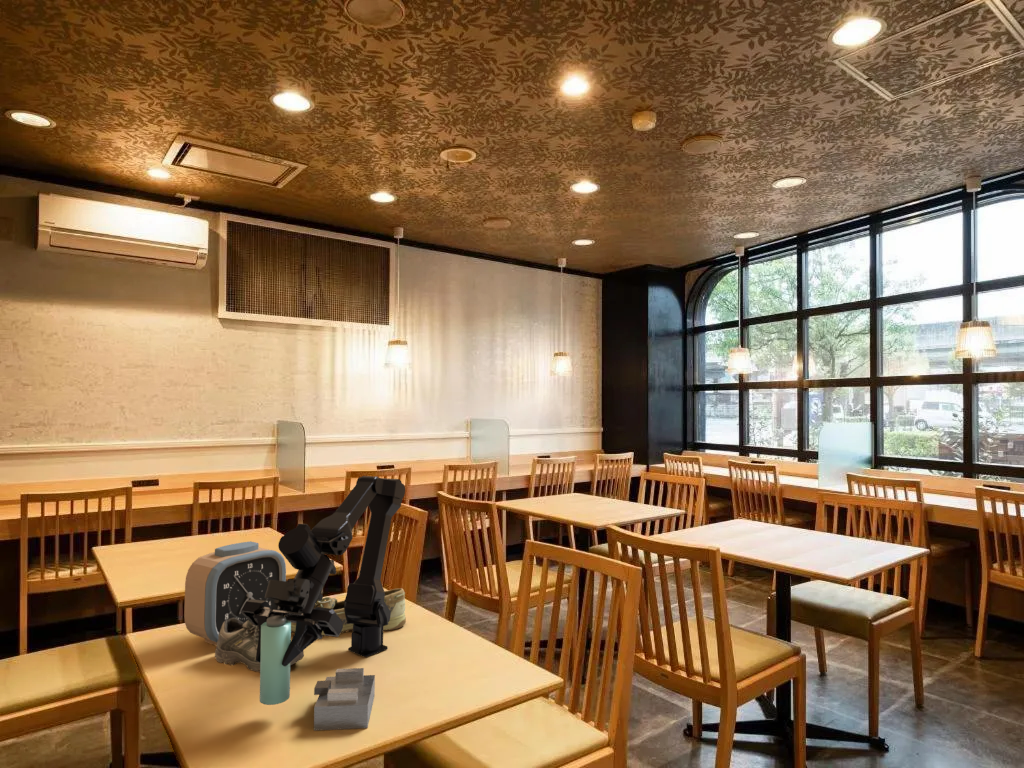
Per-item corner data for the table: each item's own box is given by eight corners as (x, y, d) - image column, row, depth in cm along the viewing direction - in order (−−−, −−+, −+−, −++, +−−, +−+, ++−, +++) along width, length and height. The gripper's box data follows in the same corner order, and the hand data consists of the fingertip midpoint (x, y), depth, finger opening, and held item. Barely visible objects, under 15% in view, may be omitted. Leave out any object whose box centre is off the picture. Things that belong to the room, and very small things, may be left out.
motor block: (321, 698, 121) (322, 667, 121) (374, 696, 122) (375, 665, 122) (308, 730, 109) (309, 696, 109) (367, 728, 110) (368, 694, 110)
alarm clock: (208, 656, 140) (210, 557, 140) (183, 646, 145) (186, 551, 145) (285, 628, 157) (287, 540, 158) (261, 621, 162) (263, 536, 163)
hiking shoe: (282, 670, 128) (296, 608, 134) (197, 668, 134) (214, 609, 140) (307, 677, 135) (319, 618, 142) (225, 675, 141) (240, 619, 147)
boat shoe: (284, 625, 160) (285, 588, 160) (403, 616, 168) (403, 581, 168) (279, 641, 149) (280, 601, 150) (407, 631, 157) (407, 593, 157)
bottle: (279, 689, 116) (281, 611, 116) (295, 697, 113) (296, 617, 113) (254, 699, 112) (255, 619, 112) (269, 707, 109) (271, 625, 109)
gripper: (248, 556, 119) (203, 636, 109) (335, 564, 114) (297, 649, 103) (274, 586, 127) (234, 664, 116) (357, 595, 122) (323, 678, 111)
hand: (270, 663), depth 111 cm, fingers closed on bottle, 5 cm apart
